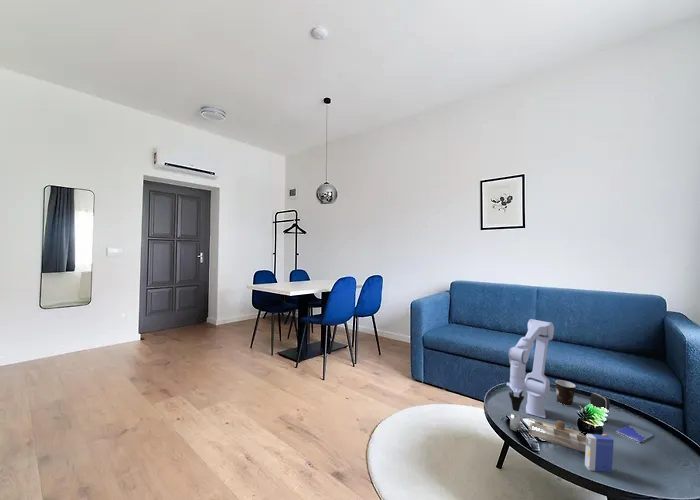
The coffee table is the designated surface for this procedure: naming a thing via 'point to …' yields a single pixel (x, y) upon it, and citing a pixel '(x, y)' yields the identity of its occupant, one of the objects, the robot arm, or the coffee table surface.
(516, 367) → the robot arm
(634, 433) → the blue spiral notebook
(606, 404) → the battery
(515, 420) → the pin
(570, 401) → the coffee mug
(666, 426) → the coffee table surface
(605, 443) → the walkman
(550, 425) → the board
